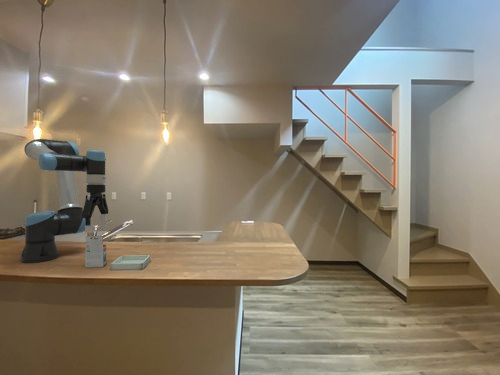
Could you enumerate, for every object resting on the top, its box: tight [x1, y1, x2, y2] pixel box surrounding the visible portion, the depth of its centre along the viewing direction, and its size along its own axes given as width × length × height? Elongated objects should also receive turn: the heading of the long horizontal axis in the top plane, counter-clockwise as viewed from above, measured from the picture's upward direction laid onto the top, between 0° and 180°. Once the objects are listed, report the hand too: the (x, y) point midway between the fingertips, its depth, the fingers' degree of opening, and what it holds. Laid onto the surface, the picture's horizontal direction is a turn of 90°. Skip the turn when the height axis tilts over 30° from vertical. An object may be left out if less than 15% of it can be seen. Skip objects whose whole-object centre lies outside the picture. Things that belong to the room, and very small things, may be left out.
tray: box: [109, 254, 151, 271], centre depth 126 cm, size 14×13×3 cm
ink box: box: [84, 235, 107, 269], centre depth 123 cm, size 4×8×15 cm, turn 96°
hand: (96, 230), depth 122 cm, fingers open, 13 cm apart
